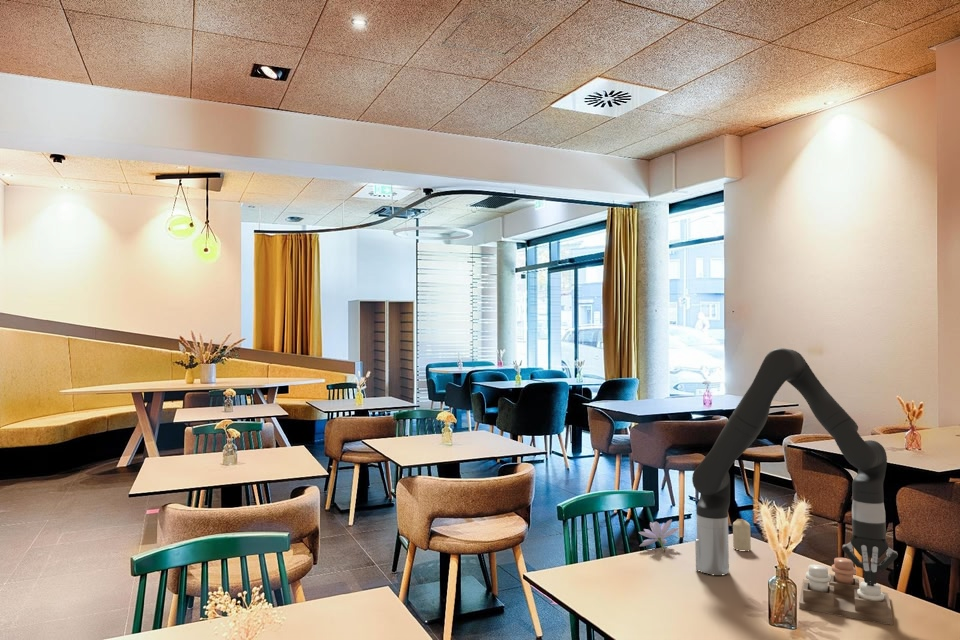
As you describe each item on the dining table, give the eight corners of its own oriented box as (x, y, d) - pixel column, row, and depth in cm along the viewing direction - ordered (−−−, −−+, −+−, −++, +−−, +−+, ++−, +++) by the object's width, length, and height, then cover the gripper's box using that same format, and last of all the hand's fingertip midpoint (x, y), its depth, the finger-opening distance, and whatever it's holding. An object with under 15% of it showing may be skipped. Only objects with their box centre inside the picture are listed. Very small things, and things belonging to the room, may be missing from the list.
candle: (752, 552, 216) (751, 522, 216) (735, 551, 217) (734, 521, 217) (748, 547, 221) (748, 518, 222) (732, 546, 222) (731, 517, 223)
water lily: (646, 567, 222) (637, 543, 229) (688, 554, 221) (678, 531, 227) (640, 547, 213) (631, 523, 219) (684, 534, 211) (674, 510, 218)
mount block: (799, 608, 171) (798, 591, 171) (803, 584, 188) (802, 568, 188) (892, 625, 161) (892, 606, 161) (888, 598, 177) (887, 581, 177)
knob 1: (805, 590, 172) (805, 569, 172) (806, 583, 177) (806, 562, 178) (831, 595, 169) (830, 572, 169) (831, 587, 175) (830, 565, 175)
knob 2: (857, 609, 166) (857, 586, 166) (857, 600, 171) (856, 579, 172) (885, 614, 163) (884, 590, 163) (883, 605, 168) (883, 583, 169)
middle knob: (831, 583, 178) (831, 561, 178) (832, 576, 183) (831, 555, 183) (856, 587, 175) (856, 565, 175) (856, 579, 180) (855, 558, 180)
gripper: (839, 518, 168) (841, 585, 168) (899, 524, 162) (901, 594, 161) (839, 511, 175) (841, 576, 174) (897, 517, 168) (899, 584, 168)
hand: (870, 584), depth 168 cm, fingers closed
